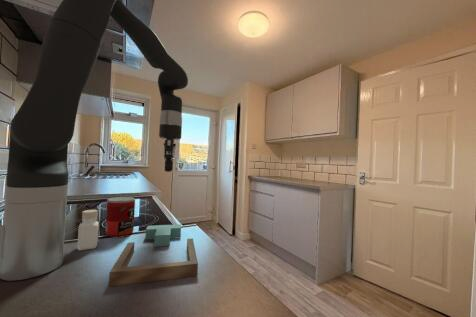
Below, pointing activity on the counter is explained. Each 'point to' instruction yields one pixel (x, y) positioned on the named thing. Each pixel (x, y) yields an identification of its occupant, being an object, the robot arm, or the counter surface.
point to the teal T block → (163, 233)
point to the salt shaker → (88, 230)
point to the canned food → (120, 216)
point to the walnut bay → (152, 268)
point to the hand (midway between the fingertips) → (168, 170)
